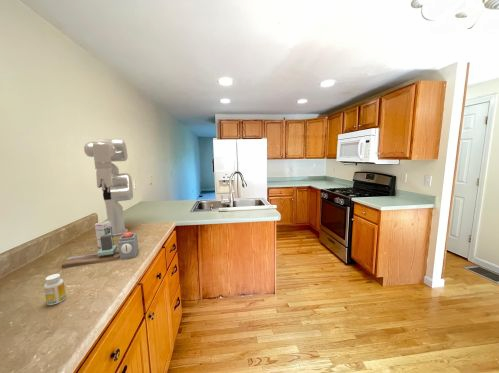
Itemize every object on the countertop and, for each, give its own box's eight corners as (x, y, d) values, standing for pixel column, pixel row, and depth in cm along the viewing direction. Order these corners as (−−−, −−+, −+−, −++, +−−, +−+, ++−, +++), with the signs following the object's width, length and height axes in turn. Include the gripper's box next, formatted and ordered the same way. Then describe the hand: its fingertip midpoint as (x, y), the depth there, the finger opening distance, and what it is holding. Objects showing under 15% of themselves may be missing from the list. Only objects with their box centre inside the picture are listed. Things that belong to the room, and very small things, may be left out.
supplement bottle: (48, 307, 76) (43, 282, 74) (45, 301, 79) (41, 277, 78) (67, 299, 80) (63, 275, 78) (64, 294, 83) (60, 271, 82)
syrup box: (106, 247, 124) (103, 223, 122) (97, 247, 126) (94, 223, 123) (114, 243, 130) (111, 220, 128) (105, 243, 131) (102, 220, 129)
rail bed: (71, 258, 112) (70, 253, 111) (123, 251, 119) (123, 246, 119) (61, 268, 102) (61, 263, 102) (119, 259, 110) (118, 254, 110)
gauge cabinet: (124, 251, 119) (122, 233, 118) (138, 249, 122) (136, 232, 120) (119, 260, 109) (117, 241, 108) (135, 257, 112) (133, 239, 110)
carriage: (102, 249, 115) (100, 234, 114) (117, 247, 117) (115, 232, 116) (97, 256, 107) (95, 239, 106) (113, 253, 110) (111, 237, 108)
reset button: (124, 236, 116) (123, 232, 115) (133, 235, 117) (132, 231, 117) (122, 239, 112) (121, 235, 111) (131, 238, 113) (131, 233, 113)
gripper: (100, 165, 121) (104, 197, 124) (90, 167, 107) (94, 203, 110) (115, 165, 123) (118, 196, 126) (107, 166, 109) (111, 201, 112)
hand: (107, 199), depth 118 cm, fingers closed
